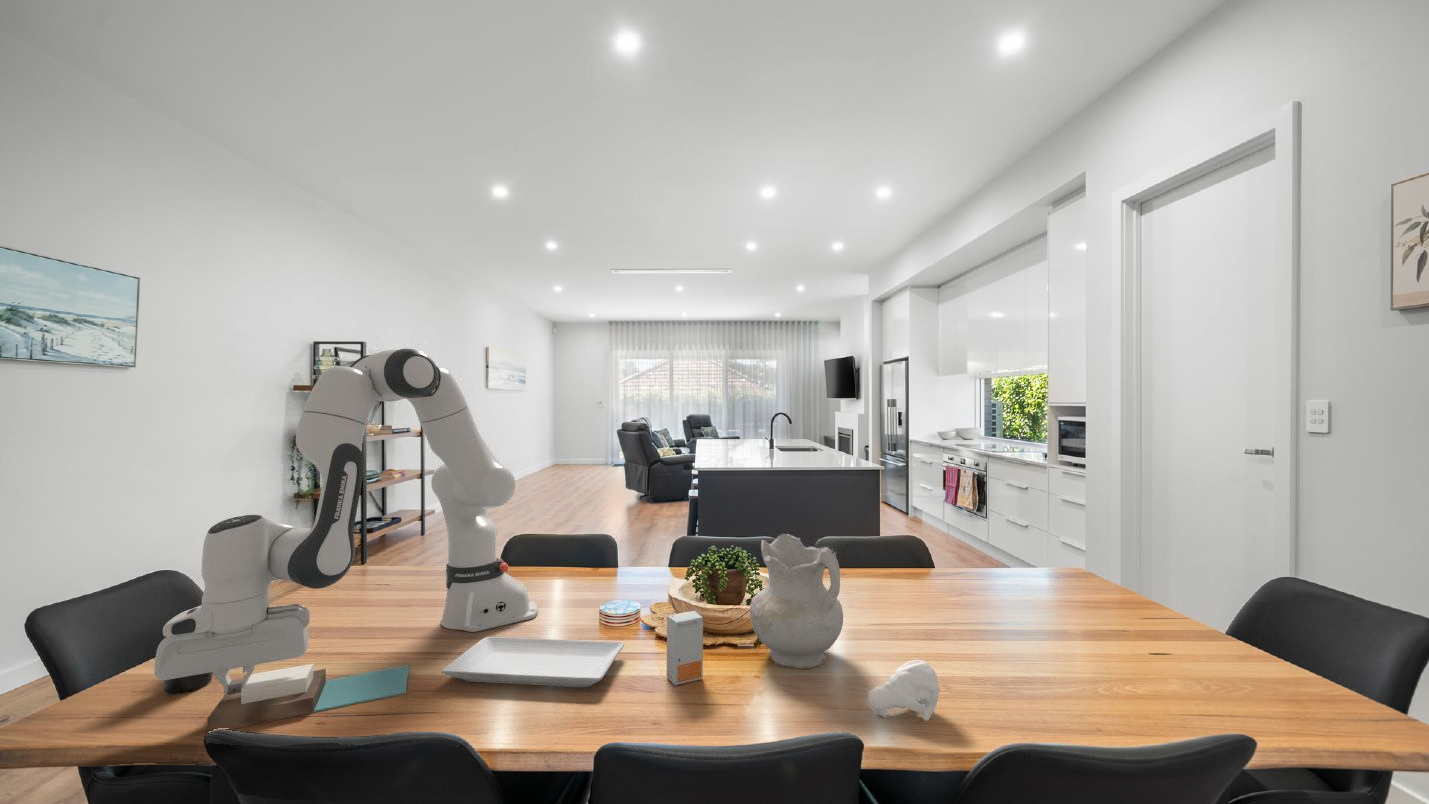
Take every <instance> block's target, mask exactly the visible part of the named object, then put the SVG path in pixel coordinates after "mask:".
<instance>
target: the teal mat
mask: <svg viewBox="0 0 1429 804" xmlns="http://www.w3.org/2000/svg"><path fill="white" fill-rule="evenodd" d="M409 668H410V665H409V664H407V665H402V666H395V667H391V668H387V669H386V668H385V669H380V670H379V669H378V670H373V671H370V672H364V673H358V674H352V675H347V676H342V677H337V678H336V677H335V678H332V679H327V680H326V682H325V685H324V687H323V690H322V692H321V694H320V697H319V699H318V702H317V704H316V706H315V709H314V711H313V712H314V713H317V712H321V711H326V710H330V709H336V708H342V707H345V706H351V705H357V704H360V703H365V702H370V701H376V700H381V699H386V698H391V697H396V696H401V695H404V694H406V693H407V685H408V678H409Z"/></svg>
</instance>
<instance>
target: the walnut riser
mask: <svg viewBox="0 0 1429 804" xmlns="http://www.w3.org/2000/svg"><path fill="white" fill-rule="evenodd" d="M326 671H327V670H326V668H323V669H317V670H313V679H312V681H311V683H310V685H309V687H308V689H307V692H303V693H298V694H293V695H287V696H282V697H277V698H271V699H266V700H261V701H255V702H250V703H245V704H241V693H234V694H229V695H223V697H222V698H221V699H220V700H219V702H218V703H217V705H216V706H215V707H214V709H213V710H212V712H211V713H210V714H209V716H208V717H207V720H206V721H207V725H206V726H207V728H206V729H207V731H206V732H207V733H208V732H209V731H213V730H214V729H218V728H229V730H233V729H238V728H239V729H240V728H243V727H248V726H253V725H257V724H263V723H266V722H267V723H268V722H273V721H278V720H282V719H288V718H292V717H297V716H303V715H307V714H311V713H313V712H314V710H315V708H316V705H317V703H318V701H319V698H320V696H321V693H322V691H323V688H324V686H325V684H326V681H327V680H326V679H327V677H326V676H327V675H326V674H327V672H326Z"/></svg>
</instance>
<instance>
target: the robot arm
mask: <svg viewBox="0 0 1429 804" xmlns="http://www.w3.org/2000/svg"><path fill="white" fill-rule="evenodd" d="M404 399H406V400H407V401H408V402H409V403H410V404H411V405H412V407H413V408H414V411H415V413H416V416H417V419H418V421H419V424H420V426H421V429H422V431H423V433H424V436H425V437H426V440H427V442H428V443H427V444H428V445H429V447H430V449H431V451H432V453H433V454H435V455H436V456H437V457H438V458H439V459H440V460H441V461H442V462H443V463H444V464H442V465H440V466H439V467H438V468H436V470H435V471H434V472H433V475H432V477H431V480H430V481H431V483H430V484H431V489H432V491H433V492H434V494H435V495H436V497H437V499H438V501H439V504H440V507H441V509H442V513H443V518H444V521H445V526H446V531H447V552H448V553H447V555H448V557H447V558H448V559H447V564H446V569H445V586H446V599H445V603H444V604H445V605H444V610H443V614H442V618H441V620H440V625H441V626H442V627H444V628H446V629H451V630H461V631H462V630H463V631H466V632H469V633H476V632H480V631H485V630H489V629H493V628H497V627H501V626H506V625H510V624H514V623H518V622H523V621H526V620H531V619H534V618H535V617H537V615H538V613H539V608H538V605H537V603H536V602H535V601H534V600H533V599H530V598H529V594H528V591H527V590H528V589H527V588H526V586H525V584H523V583H522V582H521V581H519V580H517V579H515V578H514V577H513V576H510V575H509V574H508V571H509V565H508V563H507V562H505V561H504V560H503V559H502V558H498V557H497V527H496V525H495V524H494V522H493V521H492V520H491V518H490V516H489V513H488V510H487V509H492V508H498V507H501V506H504V505H506V504H507V503H508V502H509V501H510V500H511V499H512V497H513V496H514V494H515V491H516V480H515V476H514V474H513V473H512V472H511V471H510V470H509V469H508V468H506V467H505V466H504V465H503V464H502V463H501V462H500V461H499V459H497V458H496V456H495V455H494V454H493V452H492V450H491V449H490V447H488V445H487V443H486V442H485V440H484V439H483V437H482V435H481V434H480V432H479V429H478V428H477V425H476V423H475V420H474V418H473V415H472V413H471V410H470V407H469V404H468V403H467V401H466V398H465V396H464V394H463V392H462V390H461V388H460V386H459V384H458V382H457V380H455V377H453V375H452V373H451V371H449V370H448V369H446V368H444V367H438V366H437V365H436V363H435V361H434V360H433V359H432V358H431V357H430V356H429V355H428V354H427V353H425V352H423V351H422V350H421V351H420V350H418V349H414V348H400V349H388V350H382V351H380V352H377V353H374V354H369V355H368V354H367V355H363V356H361V357H360V358H358V359H356V360H355V361H354V362H352V363H351V364H350V365H349V366H344V365H343V366H342V365H341V366H340V365H339V366H331V367H328V368H327V369H325V370H324V371H323V372H322V373H321V374H320V375H319V377H318V379H317V381H316V382H315V384H314V386H313V387H312V390H311V391H310V393H309V395H308V397H307V399H306V402H305V405H304V407H303V410H302V413H301V415H300V418H299V421H298V424H297V429H296V435H295V444H296V447H297V449H298V451H299V452H300V454H301V455H302V456H303V457H304V458H305V459H306V460H307V461H309V462H310V463H312V464H313V465H314V466H315V467H316V468H317V470H318V472H319V474H320V476H321V484H322V485H321V490H320V495H319V500H318V505H317V510H316V515H315V519H314V523H313V525H312V527H310V528H309V527H304V526H296V525H289V524H285V523H281V522H280V523H279V522H275V521H273V520H269V519H267V518H265V517H264V516H262V515H260V514H247V515H245V514H244V515H241V516H233V517H230V518H226V519H224V520H222V521H221V520H220V521H219V522H217V523H216V524H214V525H213V526H211V527H210V528H209V529H208V531H207V532H206V535H205V538H204V541H203V547H202V556H201V577H202V579H203V583H204V589H203V594H202V597H201V605H198V606H196V607H193V608H191V609H187V610H185V611H182V612H180V613H179V614H176V615H175V616H174V617H171V619H169V620H168V621H167V622H166V623H165V624H164V625H163V626H162V627H163V628H162V634H163V637H164V638H163V639H162V640H161V641H160V643H159V644H158V647H156V648H157V649H156V652H155V653H156V654H155V658H154V659H155V660H154V668H153V669H154V670H153V672H154V673H153V674H154V677H156V679H158V680H159V681H163V680H168V679H174V678H180V677H186V676H192V675H198V674H204V673H210V672H213V673H214V677H215V679H216V680H217V681H218V683H219V684H220V685H221V686H222V687H223V696H225V695H229V694H234V693H241V689H242V688H243V686H244V685H245V683H246V682H247V681H248V679H249V678H250V676H251V675H252V674H253V673H254V671H255V670H256V667H257V666H258V665H264V664H268V663H274V662H280V661H287V660H292V659H299V658H301V657H302V656H303V655H304V654H305V653H306V652H307V650H308V648H309V644H310V643H309V633H308V627H307V626H308V625H309V622H310V611H309V609H308V607H306V606H304V605H300V603H292V604H289V605H279V606H278V605H277V606H270V605H269V604H270V602H269V601H270V599H269V594H270V593H269V592H270V590H269V589H270V584H271V583H272V582H274V581H279V580H281V581H286V582H290V583H295V584H297V585H300V586H303V587H306V588H309V589H314V590H315V589H316V590H317V589H324V588H327V587H330V586H332V585H334V584H336V583H337V582H339V581H340V580H341V579H342V578H343V577H344V576H345V575H346V574H347V573H348V571H349V570H350V569H351V567H352V564H353V563H354V560H355V556H356V554H355V553H356V544H355V543H356V542H355V523H356V518H357V511H358V506H359V500H360V495H361V490H362V485H363V484H362V482H363V479H364V478H363V477H364V469H365V460H364V453H363V440H364V436H365V430H366V428H367V425H368V420H369V418H370V417H369V416H370V413H371V411H372V409H373V408H374V405H375V404H376V403H379V402H397V401H401V400H404ZM238 668H242V673H245V674H244V676H243V678H239V679H234V680H232V678H231V677H230V675H229V674H228V673H229V672H230V671H231V670H232V669H233V670H234V669H238Z"/></svg>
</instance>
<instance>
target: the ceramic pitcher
mask: <svg viewBox="0 0 1429 804" xmlns="http://www.w3.org/2000/svg"><path fill="white" fill-rule="evenodd" d="M760 548H761V556H762V559H763V563H764V564H765V566H766V568H767V572H768V582H767V584H766V585H765V587H764V588H763V589H761V590H760V591H759V592H757V593H756V594H755V595H754V596H753V597H752V599H751V602H750V606H749V616H750V622H751V626H752V629H753V631H754V634H755V635H756V637H757V638H758V640H759V641H760V642H761V643H762V644H763V645H764V646H765V647H766V648H768V649H769V650H770V651H769V658H770V659H771V661H773V663H775V664H776V666H781V667H782V666H783V667H788V668H792V669H802V670H803V669H804V670H805V669H806V670H811V669H813V668H815V667H818V666H822V665H824V664H826V663H825V662H826V653H825V652H826V651H828V650H829V649H830V648H831V647H832V646H833V645H834V644H835V642H836V641H837V639H838V638H839V637H840V636H841V635H840V634H841V632H842V629H843V623H844V612H843V606H842V604H841V602H840V599H838V596H839V594H840V591H841V590H840V589H841V569H840V564H839V561H838V559H837V556H836V554H837V552H836V551H835V549H834V548H833V547H831V546H820V547H815V546H805V545H804V544H803V542H802V540H801V538H800V537H796V536H795V535H792V534H790V533H780V535H776V538H775V539H774V540H773V541H772V542H771V543H769V542H767V540H765V539H761V543H760ZM825 569H827V570H828V574H829V579H830V580H829V581H830V586H829V588H828V589H827V587H825V585H824V581H823V578H824V577H823V576H824V572H825Z"/></svg>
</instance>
